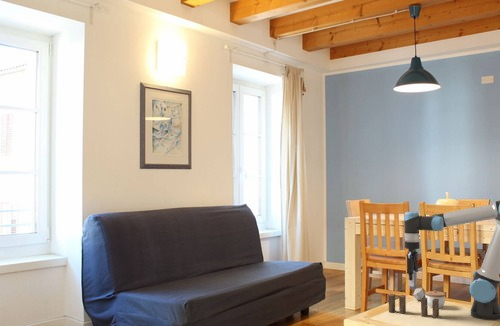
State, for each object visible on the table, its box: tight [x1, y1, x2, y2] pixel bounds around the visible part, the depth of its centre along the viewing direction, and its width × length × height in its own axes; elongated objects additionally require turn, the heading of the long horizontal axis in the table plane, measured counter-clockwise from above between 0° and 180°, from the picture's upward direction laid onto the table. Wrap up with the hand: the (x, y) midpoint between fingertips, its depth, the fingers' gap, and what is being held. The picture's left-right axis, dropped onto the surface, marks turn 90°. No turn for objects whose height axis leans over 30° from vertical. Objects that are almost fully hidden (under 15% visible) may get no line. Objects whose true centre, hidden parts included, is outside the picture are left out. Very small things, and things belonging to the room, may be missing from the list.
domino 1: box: [388, 293, 396, 314], centre depth 277 cm, size 2×5×9 cm, turn 148°
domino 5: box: [432, 299, 440, 319], centre depth 265 cm, size 2×5×9 cm, turn 148°
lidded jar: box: [425, 289, 446, 309], centre depth 286 cm, size 11×11×9 cm
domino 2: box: [398, 294, 407, 315], centre depth 274 cm, size 2×5×9 cm, turn 148°
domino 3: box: [409, 271, 417, 290], centre depth 272 cm, size 2×5×9 cm, turn 148°
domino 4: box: [420, 297, 429, 318], centre depth 268 cm, size 2×5×9 cm, turn 148°
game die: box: [411, 287, 427, 302], centre depth 301 cm, size 9×8×10 cm
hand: (412, 285), depth 272 cm, fingers closed on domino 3, 5 cm apart
